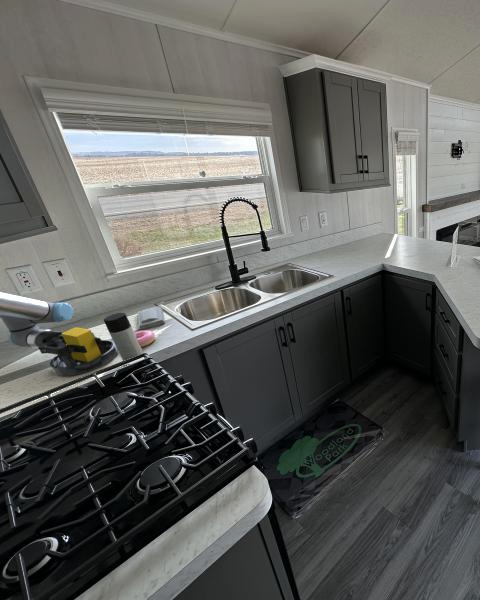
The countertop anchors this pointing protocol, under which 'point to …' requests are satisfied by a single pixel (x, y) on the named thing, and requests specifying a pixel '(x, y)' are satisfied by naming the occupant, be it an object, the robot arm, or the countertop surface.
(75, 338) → the sponge
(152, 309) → the soap mold
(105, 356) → the bowl
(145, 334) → the doughnut
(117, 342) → the spray can
